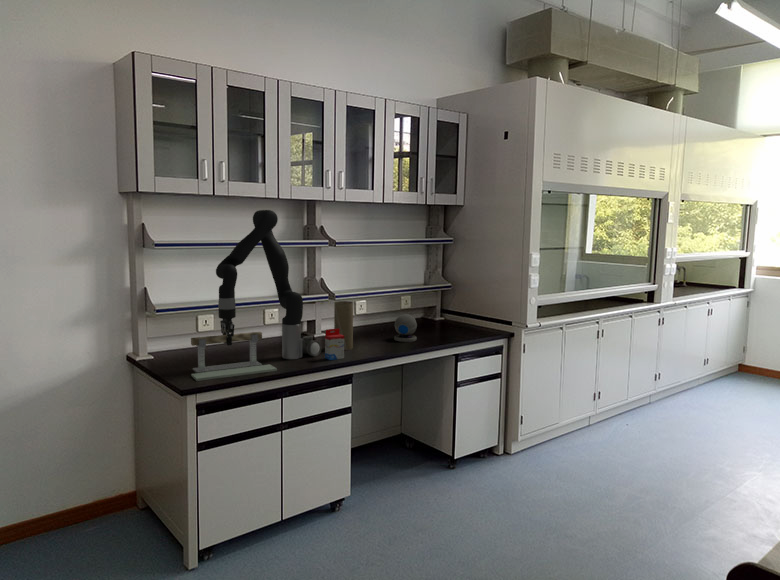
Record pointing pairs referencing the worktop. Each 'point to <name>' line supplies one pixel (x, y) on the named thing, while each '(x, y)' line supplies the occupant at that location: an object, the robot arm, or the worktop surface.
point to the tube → (344, 321)
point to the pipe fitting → (310, 346)
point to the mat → (233, 372)
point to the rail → (225, 338)
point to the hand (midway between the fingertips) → (227, 344)
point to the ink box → (334, 345)
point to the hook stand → (202, 367)
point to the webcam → (405, 328)
